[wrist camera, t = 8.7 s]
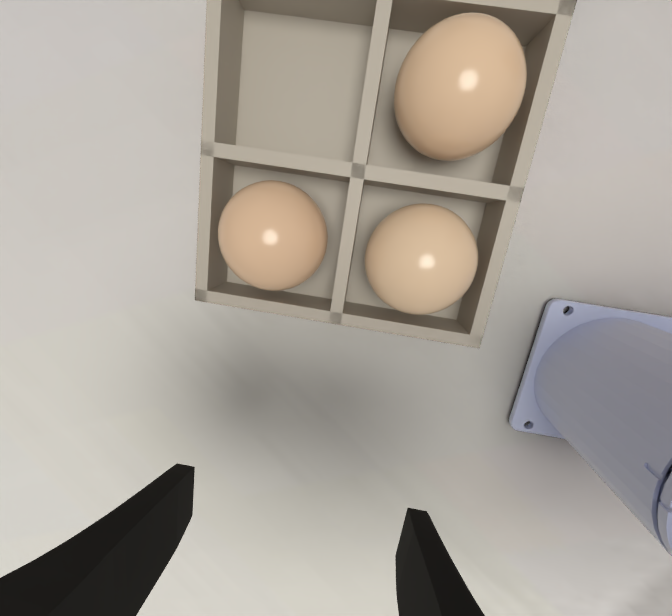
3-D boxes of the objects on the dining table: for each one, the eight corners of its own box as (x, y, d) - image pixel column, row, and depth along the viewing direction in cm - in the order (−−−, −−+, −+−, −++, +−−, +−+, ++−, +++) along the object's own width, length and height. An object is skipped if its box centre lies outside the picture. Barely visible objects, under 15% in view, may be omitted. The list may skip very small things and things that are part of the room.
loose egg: (508, 60, 16) (576, -13, 11) (480, 175, 17) (529, 157, 12) (399, 44, 16) (418, -34, 11) (380, 160, 17) (389, 136, 12)
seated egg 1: (339, 193, 18) (328, 183, 13) (325, 287, 19) (311, 310, 14) (244, 179, 18) (199, 164, 13) (237, 272, 19) (194, 291, 14)
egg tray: (538, 38, 16) (577, -3, 13) (462, 328, 19) (479, 348, 16) (236, -1, 16) (208, -49, 13) (219, 288, 20) (194, 300, 17)
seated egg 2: (471, 213, 17) (512, 211, 12) (448, 307, 19) (477, 338, 14) (373, 198, 17) (376, 191, 13) (357, 292, 19) (354, 318, 14)
